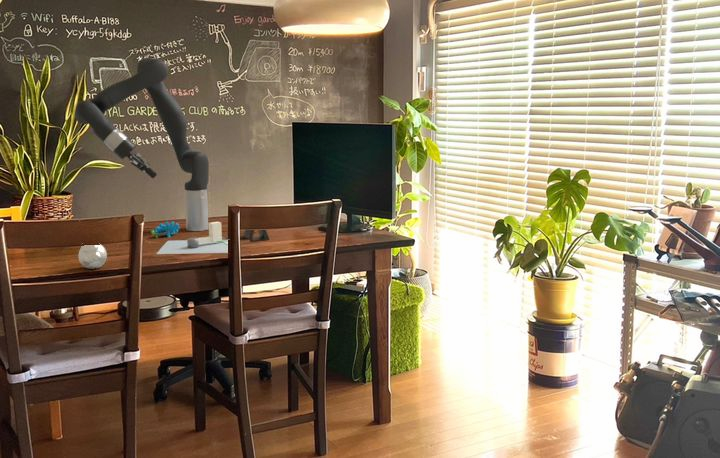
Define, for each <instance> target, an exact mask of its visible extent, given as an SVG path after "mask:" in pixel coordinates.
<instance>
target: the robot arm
mask: <svg viewBox="0 0 720 458" xmlns="http://www.w3.org/2000/svg"><path fill="white" fill-rule="evenodd" d="M136 69H137V73H136V74H134V75H133V76H130V77H129V78H126V79H125V78H124V80H123V79H122V80H120V81H117V82H115V83H113V84H111V85H109V86H107V87H105V88H104V89H102V90H101V91H99V92H97V93H96V94H95V95H94V97H93V98H92V99H91V100H87V99H86V100H81V101H79V102H78V103H77V104H76V107H75V109H74V119H75V120H76V121H77V123H79V124H82V125H87V124H88V125H89V126H90V127H91V129H92V132H93V133H94V134H95V135H96V136H97V138H98V139H99V140H101V141H102V143H104V144H105V145H106V147H107V148H108V149H110V150H111V151H112V152H113V153H114V154H115V155H116V156H117V157H118V158H119V159H121V160H125V159H126V158H127V159H128V160H129V163H130V164H131V165H133V167H135V168H137V169H138V170H140V171H141V172H144V173H146V174H147V175H148V176H149V177H150V178H151V179H154V178H155V177H156V176H157V175H158V173H157V172H156V171H154V169H153V168H151V165H150V164H149V162H148V161H147V160H146V159H145V157H144V156H143V155H141V154H140V153H139V152H136V151H135V148H136V147H137V145H136V144H135V143H134V141H132V140H131V139H130V138H129V137H128V136H126V134H125V133H124V132H122V131H121V130H120V129H118V128H117V127H116V126H115V125H114V124H113V123H112V122H111V121H109V120H108V119H107V117H106V116H105V113H106V112H107V111H108V110H110V109H113V108H114V107H116V106H117V105H119V104H120V103H122V102H123V101H125V100H126V99H128V98H130V97H132V96H133V95H135V94H137V93H139V92H141V91H143V90H145V89H146V90H147V92H148V94H149V96H150V98H151V101H152V102H153V106H154V107H155V110H156V111H157V113H158V116H159V118H160V120H161V123H162V125H163V127H164V129H165V131H166V133H167V135H168V137H169V140H170V142H171V145H172V147H173V149H174V154H175V156H176V160H177V162H178V164H179V167H180V169H181V170H182V171H183V172H184V173H187V174H191V179H190V180H188V181H186V182H185V183H184V201H185V202H184V204H185V205H184V206H185V227H186V228H185V229H186V231H189V232H202V231H209V207H208V205H209V204H208V203H209V202H208V184H209V178H210V177H209V172H210V170H209V168H210V167H209V164H210V163H209V158H208V156H207V154H206V153H204V152H202V151H194V150H192V148H191V147H190V144H189V142H188V140H187V132H188V131H187V130H188V121H187V118H186V116H185V114H184V111H183V110H182V109H183V108H182V107H181V105H180V104H179V103H178V102H177V100H176V99H175V98H174V96H173V95H172V94H171V93H170V91H168V89H167V87H166V85H165V83H164V81H165V80H166V78H168V76H169V68H168V65H167V63H166V62H164V61H163V60H161V59H158V58H152V57H144V58H142V59H140V60H139V61H138V64H137V67H136Z"/></svg>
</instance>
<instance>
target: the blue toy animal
mask: <svg viewBox="0 0 720 458" xmlns="http://www.w3.org/2000/svg"><path fill="white" fill-rule="evenodd" d="M154 228H155V230H154V229H152V230H150V232H151V235H154V237H155V238H156V239H158V238H159V237H163V236H167V238H171V236H173V235H175V234H176V233H179V230H180V226H179V223H178V222H176V223H175V221H170V223H169V221H165V222H164V224H163V223H160V224H159V225H158V226H156V227H154Z"/></svg>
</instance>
